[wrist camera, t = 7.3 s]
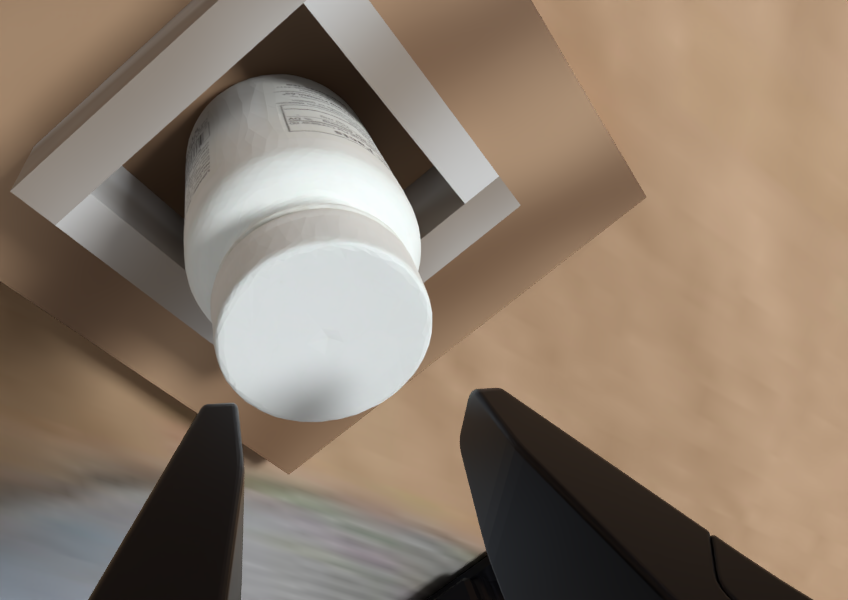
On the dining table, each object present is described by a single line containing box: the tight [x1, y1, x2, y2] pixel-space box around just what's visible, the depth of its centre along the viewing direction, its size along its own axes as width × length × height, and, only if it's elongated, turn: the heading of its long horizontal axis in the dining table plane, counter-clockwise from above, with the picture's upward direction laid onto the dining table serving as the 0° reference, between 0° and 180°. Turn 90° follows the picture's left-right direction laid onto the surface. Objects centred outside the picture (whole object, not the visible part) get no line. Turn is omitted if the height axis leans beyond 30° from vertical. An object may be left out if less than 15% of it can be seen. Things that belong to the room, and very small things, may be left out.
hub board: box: [0, 0, 646, 474], centre depth 17 cm, size 16×14×4 cm
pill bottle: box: [184, 74, 432, 422], centre depth 14 cm, size 4×4×8 cm
